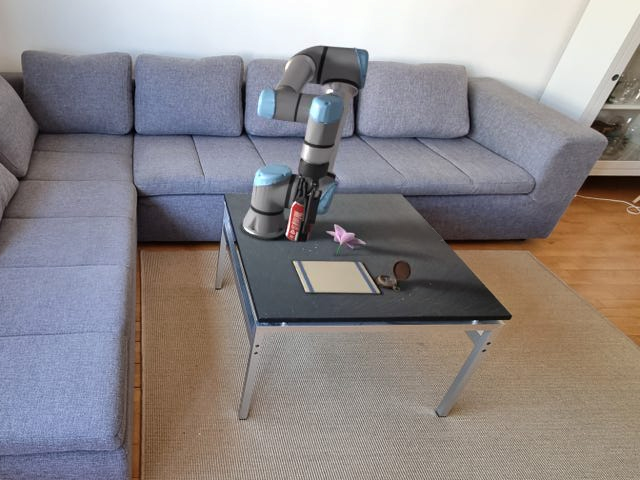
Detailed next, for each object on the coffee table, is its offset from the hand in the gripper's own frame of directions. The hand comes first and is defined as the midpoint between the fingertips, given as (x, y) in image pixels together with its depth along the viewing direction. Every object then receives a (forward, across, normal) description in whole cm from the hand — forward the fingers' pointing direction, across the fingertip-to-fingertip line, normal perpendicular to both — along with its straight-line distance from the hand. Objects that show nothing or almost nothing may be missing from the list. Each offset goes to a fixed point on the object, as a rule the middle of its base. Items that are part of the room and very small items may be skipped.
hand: (297, 234), depth 129 cm
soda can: (+1, 0, 0) cm, 1 cm away
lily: (+15, +15, -22) cm, 30 cm away
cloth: (+15, -1, -14) cm, 21 cm away
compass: (+15, -5, -30) cm, 34 cm away
